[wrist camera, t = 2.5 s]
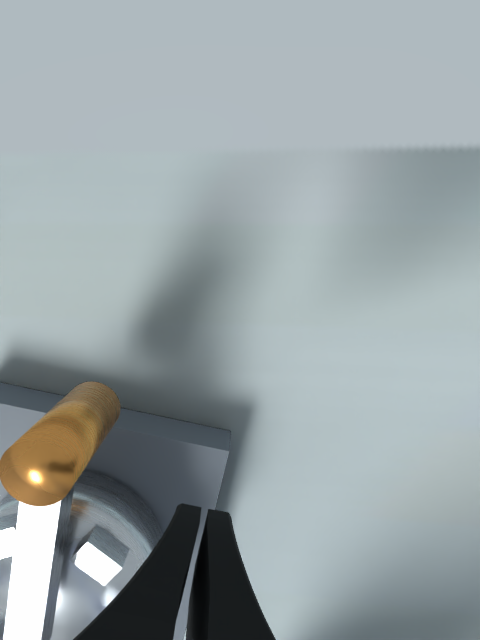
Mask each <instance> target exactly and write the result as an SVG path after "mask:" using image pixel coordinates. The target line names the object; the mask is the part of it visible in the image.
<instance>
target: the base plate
mask: <svg viewBox="0 0 480 640" xmlns="http://www.w3.org/2000/svg"><path fill="white" fill-rule="evenodd" d="M64 397H65V396H62V395H57V394H52V393H48V392H43V391H38V390H34V389H29V388H24V387H19V386H15V385H10V384H5V383H1V382H0V459H1V457H2V455H3V454H4V452H5V451H6V450H7V449H8V448H9V447H10V446H12V445H13V444H14V443H15V442H16V441H17V440H18V439H19V438H20V437H21V436H22V435H23V434H25V433H26V432H27V431H28V430H29V429H30V428H31V427H32V426H33V425H34V424H35V423H37V422H38V421H39V420H40V419H41V418H42V417H43V416H44V415H45V414H46V413H47V412H49V411H50V410H51V409H52V408H53V407H54V406H55V405H56V404H57V403H58V402H59V401H60V400H62V399H63V398H64ZM230 434H231V431H227V430H223V429H218V428H213V427H208V426H204V425H199V424H194V423H190V422H185V421H180V420H175V419H171V418H166V417H161V416H156V415H152V414H147V413H142V412H138V411H133V410H128V409H123V408H121V410H120V415H119V418H118V420H117V421H116V423H115V424H114V426H113V427H112V429H111V430H110V432H109V433H108V435H107V436H106V438H105V439H104V441H103V442H102V444H101V445H100V447H99V448H98V450H97V451H96V453H95V454H94V456H93V457H92V459H91V460H90V462H89V463H88V465H87V466H86V467H85V469H84V470H86V471H91V472H95V473H99V474H102V475H105V476H107V477H110V478H113V479H114V480H116V481H118V482H120V483H122V484H124V485H125V486H127V487H128V488H130V489H131V490H132V491H134V492H135V493H136V494H137V495H138V496H139V497H141V498H142V500H143V501H144V502H145V503H146V504H147V505H148V506H149V508H150V509H151V511H152V512H153V514H154V515H155V517H156V519H157V521H158V523H159V525H160V528H161V531H162V534H164V532H165V530H166V529H167V527H168V525H169V523H170V522H171V520H172V518H173V515H174V513H175V511H176V508H177V506H178V505H179V504H181V503H183V504H188V505H193V506H198V507H201V517H200V525H199V529H198V533H197V537H196V542H195V546H194V550H193V554H192V558H191V563H190V567H189V571H188V575H187V580H186V584H185V588H184V592H183V596H182V601H181V604H180V608H179V612H178V616H177V620H176V625H175V631H174V638H173V640H183V639H184V635H185V630H186V626H187V619H188V606H189V598H190V592H191V586H192V580H193V574H194V568H195V563H196V559H197V554H198V550H199V546H200V542H201V538H202V534H203V529H204V525H205V521H206V517H207V513H208V509H213V510H215V508H216V504H217V500H218V496H219V492H220V488H221V483H222V479H223V475H224V471H225V467H226V463H227V459H228V455H229V449H230ZM7 494H8V492H7V491H6V489H5V488H4V486H3V485H2V483H1V480H0V501H1V500H2V499H3V498H4V497H5V496H6V495H7Z"/></svg>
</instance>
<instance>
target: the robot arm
mask: <svg viewBox="0 0 480 640" xmlns="http://www.w3.org/2000/svg"><path fill="white" fill-rule="evenodd" d="M200 517H201V507H198V506H193V505H188V504H183V503H181V504H179V505H178V506H177V508H176V511H175V513H174V515H173V518H172V520H171V522H170V523H169V525H168V527H167V529H166V530H165V532H164V534H163V535H162V537H161V538H160V540H159V541H158V543H157V544H156V546H155V547H154V549H153V550H152V552H151V553H150V555H149V556H148V557H147V559H146V560H145V561H144V563H143V564H142V565H141V567H140V568H139V569H138V570H137V572H136V573H135V574H134V576H133V577H132V578H131V579H130V581H129V582H128V583H127V584H126V585H125V587H124V588H123V589H122V590H121V591H120V592H119V593H118V595H117V596H116V597H115V598H114V599H113V600H112V601H111V602H110V603H109V604H108V606H107V607H106V608H105V609H104V610H103V611H102V612H101V613H100V614H99V615H98V616H97V617H96V618H95V619H94V620H93V621H92V622H91V623H90V624H89V625H88V626H87V627H86V628H85V629H84V630H83V631H82V632H80V633H79V634H78V635H77V636H76V637H75V638H74V639H73V640H173V638H174V631H175V625H176V620H177V616H178V612H179V608H180V604H181V601H182V596H183V592H184V588H185V584H186V580H187V575H188V571H189V567H190V563H191V558H192V554H193V550H194V546H195V542H196V537H197V533H198V529H199V525H200ZM186 640H276V639H275V637H274V635H273V633H272V631H271V629H270V627H269V625H268V623H267V621H266V619H265V617H264V615H263V613H262V610H261V608H260V606H259V603H258V601H257V599H256V596H255V594H254V591H253V589H252V586H251V584H250V581H249V579H248V576H247V573H246V570H245V567H244V564H243V561H242V558H241V555H240V552H239V549H238V545H237V542H236V538H235V534H234V530H233V525H232V520H231V516H230V514H229V513H227V512H223V511H218V510H213V509H208V513H207V517H206V521H205V525H204V529H203V534H202V538H201V542H200V546H199V550H198V554H197V559H196V563H195V568H194V574H193V580H192V586H191V592H190V598H189V606H188V619H187V632H186Z"/></svg>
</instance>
